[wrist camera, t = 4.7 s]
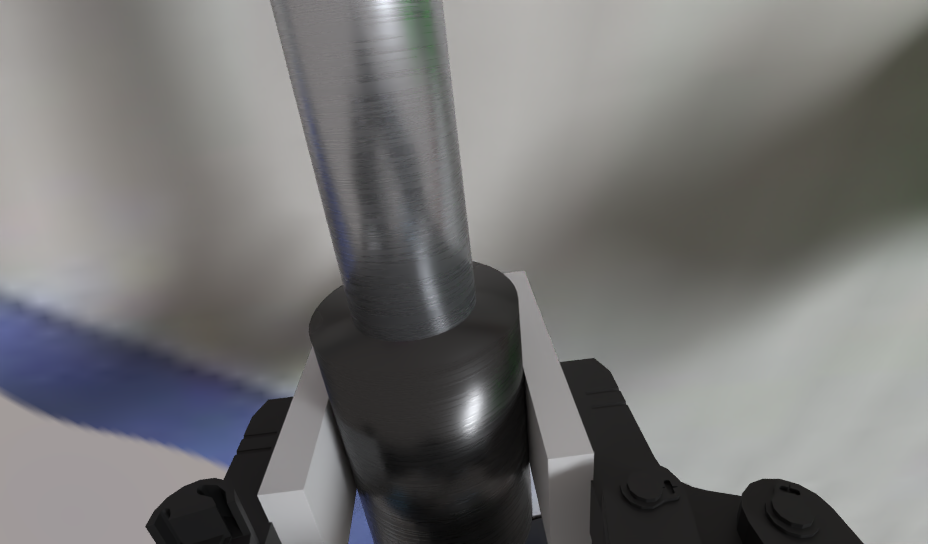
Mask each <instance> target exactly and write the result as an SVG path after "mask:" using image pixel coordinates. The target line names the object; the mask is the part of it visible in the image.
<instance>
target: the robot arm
mask: <svg viewBox="0 0 928 544" xmlns="http://www.w3.org/2000/svg"><path fill="white" fill-rule="evenodd" d="M503 274H504V275H505V276H506V277H508V278H509V279H510V280H511V282H512V283H513V284H514V286H515V288H516V290H517V294H518V300H519V315H520V330H521V345H522V360H523V374H524V389H525V404H526V419H527V434H528V450H529V462H530V467H531V471H532V476H533V480H534V485H535V489H536V493H537V498H538V502H539V507H540V511H541V516H542V518H539V519H536V520H532V523H531V528H530V531H529V535H528V538H527V540H526V542H525V544H864V543H863V542H862V541H861V540H860V539H859V538H858V537H857V535H856V534H855V533H854V532H853V531H852V530H851V529H850V527H849V526H848V525H847V524H846V523H845V522H844V521H843V519H842V518H841V517H840V516H839V515H838V514H837V513H836V512H835V510H834V509H833V508H832V507H831V506H830V505H828V504H827V503H826V502H825V501H824V500H823V499H822V498H821V497H819V496H818V495H817V494H815V493H814V492H812V491H810V490H808V489H806V488H804V487H803V486H801V485H799V484H796V483H792V482H789V481H785V480H782V479H761V480H758V481H756V482H753V483H750V484H749V485H748V487H747V488H746V489H745V491H744V492H743V493H742V496H738V495H731V494H725V493H719V492H713V491H707V490H703V489H699V488H695V487H692V486H689V485H687V484H685V483H683V482H680V480H679V479H678V478H677V477H676V476H675V475H673V474H672V473H671V472H670V471H669V470H668V469H666V468H664V467H662V466H660V465H659V463H658V462H657V460H656V459H655V457H654V455H653V453H652V452H651V450H650V448H649V446H648V444H647V442H646V440H645V438H644V436H643V434H642V432H641V430H640V428H639V426H638V424H637V422H636V421H635V419H634V417H633V415H632V413H631V411H630V409H629V407H628V405H626V401H625V399H624V397H623V395H622V393H621V391H619V388H618V386H617V384H616V382H615V380H614V378H613V376H612V374H611V372H610V371H609V370H608V369H607V368H605V367H604V366H603V365H602V364H601V363H599V362H598V361H597V360H596V359H594V358H591V359H583V360H574V361H566V362H559V360H558V357H557V355H556V352H555V349H554V347H553V344H552V341H551V339H550V336H549V334H548V331H547V328H546V326H545V323H544V320H543V318H542V315H541V312H540V310H539V307H538V305H537V302H536V299H535V297H534V294H533V291H532V289H531V286H530V284H529V281H528V278H527V276H526V273H525V271H517V272H509V273H503ZM356 490H357V487H356V483H355V480H354V477H353V474H352V471H351V467H350V464H349V461H348V458H347V455H346V451H345V448H344V445H343V442H342V439H341V435H340V432H339V429H338V426H337V423H336V419H335V416H334V413H333V410H332V407H331V403H330V400H329V397H328V394H327V391H326V387H325V384H324V381H323V378H322V375H321V371H320V368H319V365H318V362H317V358H316V355H315V352H314V349H313V346H312V348H311V351H310V353H309V356H308V359H307V362H306V364H305V367H304V370H303V372H302V375H301V378H300V381H299V383H298V386H297V389H296V391H295V394H294V397H287V398H279V399H271V400H268V401H267V402H266V403H265V404H264V405H263V406H262V407H261V408H260V409H259V410H258V411H257V412H256V413H255V415H254V416H253V417H252V419H251V421H250V423H249V425H248V427H247V430H246V432H245V434H244V439H242V441H241V443H240V445H239V447H238V449H237V455H235V456H234V458H233V460H232V462H231V465H230V467H229V469H228V471H227V473H226V476H225V478H224V480H221V479H217V478H211V479H203V480H199V481H196V482H194V483H191V484H189V485H186V486H184V487H182V488H181V489H179V490H178V491H177V492H175V493H173V494H172V495H170V496H169V497H167V498H166V499H165V500H164V501H163V503H162V504H161V505H160V506H159V507H158V508H157V509H156V510H155V511H154V512H153V514H152V516H151V517H150V519H149V521H148V523H147V524H146V528H147V530H148V531H149V533H150V535H151V536H152V538H153V539H154V541H155V542H156V544H348V540H349V534H350V528H351V521H352V515H353V509H354V503H355V496H356Z"/></svg>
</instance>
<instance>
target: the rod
mask: <svg viewBox="0 0 928 544" xmlns="http://www.w3.org/2000/svg"><path fill="white" fill-rule="evenodd" d="M270 2H271V6H272V10H273V14H274V18H275V22H276V26H277V30H278V34H279V37H280V41H281V45H282V49H283V53H284V57H285V61H286V65H287V68H288V72H289V76H290V80H291V84H292V88H293V92H294V96H295V100H296V103H297V107H298V111H299V115H300V119H301V123H302V127H303V131H304V134H305V138H306V142H307V146H308V150H309V154H310V158H311V162H312V166H313V169H314V173H315V177H316V181H317V185H318V189H319V193H320V197H321V200H322V204H323V208H324V212H325V216H326V220H327V224H328V228H329V232H330V235H331V239H332V243H333V247H334V251H335V255H336V259H337V263H338V266H339V270H340V274H341V278H342V282H343V285H342V286H340V287H339V288H337V289H336V290H334V291H333V292H332V293H331V294H330V295H328V296H327V297H326V298H325V299H324V300H323V301H322V302H321V303H320V305H319V306H318V307H317V309H316V310H315V312H314V314H313V316H312V318H311V321H310V324H309V335H310V339H311V342H312V346H313V349H314V352H315V355H316V358H317V362H318V365H319V368H320V371H321V375H322V378H323V381H324V384H325V387H326V391H327V394H328V397H329V400H330V403H331V407H332V410H333V413H334V416H335V419H336V423H337V426H338V429H339V432H340V435H341V439H342V442H343V445H344V448H345V451H346V455H347V458H348V461H349V464H350V467H351V471H352V474H353V477H354V480H355V483H356V487H357V490H358V493H359V496H360V499H361V503H362V506H363V509H364V512H365V516H366V519H367V522H368V525H369V528H370V532H371V535H372V538H373V541H374V544H525V542H526V540H527V538H528V535H529V531H530V528H531V523H532V494H531V479H530V464H529V450H528V434H527V419H526V404H525V389H524V374H523V360H522V345H521V330H520V315H519V300H518V294H517V290H516V288H515V286H514V284H513V283H512V282H511V280H510V279H509V278H508V277H506V276H505V275H504V274H503V273H501V272H499V271H498V270H496V269H494V268H492V267H490V266H487V265H484V264H481V263H477V262H473V261H472V257H471V248H470V239H469V230H468V221H467V213H466V204H465V195H464V186H463V177H462V169H461V160H460V151H459V142H458V133H457V125H456V116H455V107H454V98H453V89H452V81H451V72H450V63H449V54H448V45H447V37H446V28H445V19H444V10H443V1H442V0H270Z"/></svg>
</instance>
